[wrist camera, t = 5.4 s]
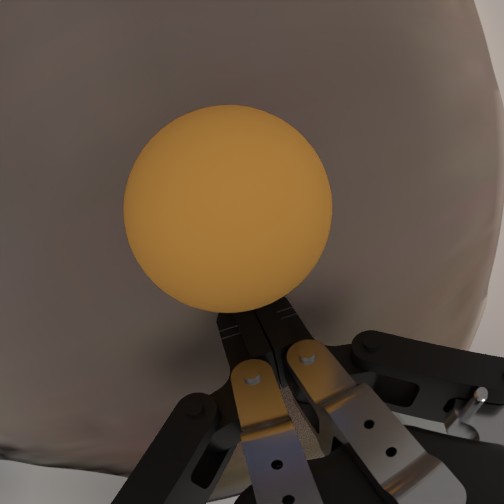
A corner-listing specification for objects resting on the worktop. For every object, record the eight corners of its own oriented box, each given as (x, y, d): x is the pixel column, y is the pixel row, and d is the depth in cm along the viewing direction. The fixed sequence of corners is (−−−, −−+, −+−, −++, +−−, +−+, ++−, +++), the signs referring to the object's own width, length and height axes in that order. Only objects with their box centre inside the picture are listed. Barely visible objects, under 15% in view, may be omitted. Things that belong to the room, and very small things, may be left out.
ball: (118, 137, 8) (59, 147, 3) (270, 99, 9) (367, 81, 4) (163, 274, 11) (167, 383, 6) (293, 234, 12) (373, 310, 7)
